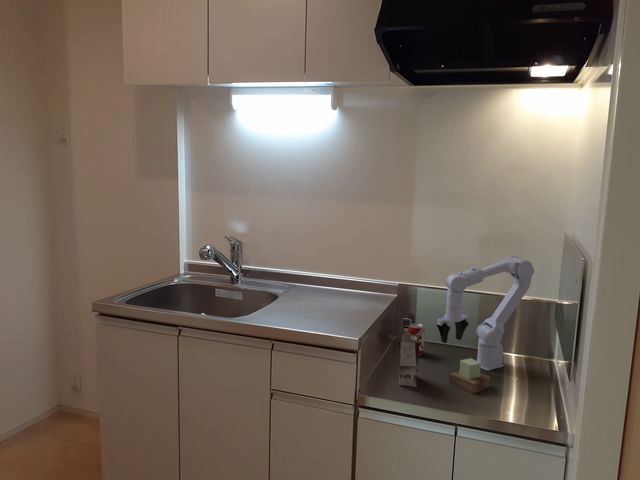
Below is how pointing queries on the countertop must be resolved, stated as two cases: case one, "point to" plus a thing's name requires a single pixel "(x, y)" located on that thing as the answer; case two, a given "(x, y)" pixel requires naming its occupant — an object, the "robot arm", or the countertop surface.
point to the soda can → (420, 331)
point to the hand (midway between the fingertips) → (451, 340)
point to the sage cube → (470, 368)
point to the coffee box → (409, 360)
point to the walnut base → (470, 382)
